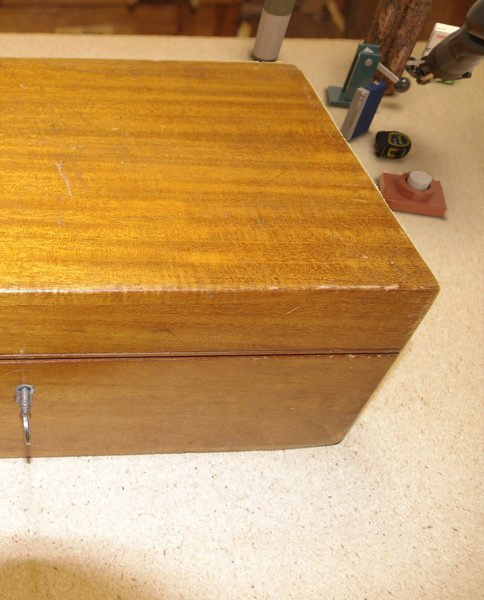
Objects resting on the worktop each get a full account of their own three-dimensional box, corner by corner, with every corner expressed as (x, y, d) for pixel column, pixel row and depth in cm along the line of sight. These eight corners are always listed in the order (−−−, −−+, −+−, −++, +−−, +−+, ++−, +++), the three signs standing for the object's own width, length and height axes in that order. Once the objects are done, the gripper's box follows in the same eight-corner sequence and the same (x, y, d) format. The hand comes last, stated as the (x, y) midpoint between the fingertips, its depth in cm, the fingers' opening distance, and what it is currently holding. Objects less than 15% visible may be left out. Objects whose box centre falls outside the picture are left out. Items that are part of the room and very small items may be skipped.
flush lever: (399, 91, 162) (413, 79, 159) (401, 99, 159) (415, 87, 157) (355, 55, 158) (369, 43, 156) (356, 62, 156) (370, 50, 153)
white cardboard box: (452, 75, 173) (475, 29, 164) (450, 84, 170) (474, 38, 161) (415, 66, 175) (436, 21, 167) (413, 76, 172) (434, 30, 164)
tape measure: (371, 141, 153) (378, 126, 150) (405, 146, 152) (412, 132, 149) (373, 159, 148) (379, 144, 146) (407, 165, 147) (414, 150, 144)
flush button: (426, 179, 138) (430, 172, 137) (429, 192, 135) (433, 184, 134) (405, 176, 139) (408, 169, 137) (407, 188, 136) (411, 181, 135)
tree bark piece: (395, 96, 166) (442, -10, 147) (372, 94, 166) (416, -12, 148) (378, 61, 177) (420, -41, 159) (356, 60, 177) (395, -43, 159)
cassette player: (359, 127, 157) (379, 78, 148) (367, 132, 155) (388, 83, 147) (336, 136, 154) (356, 87, 145) (345, 142, 153) (365, 92, 144)
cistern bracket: (371, 95, 166) (392, 44, 156) (373, 111, 161) (396, 59, 152) (327, 89, 167) (346, 38, 158) (328, 105, 163) (348, 53, 153)
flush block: (435, 189, 142) (444, 173, 139) (442, 217, 136) (451, 201, 133) (378, 180, 143) (386, 164, 140) (383, 208, 137) (391, 192, 134)
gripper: (500, 37, 129) (458, 66, 146) (424, 29, 131) (392, 58, 148) (492, 78, 130) (451, 102, 147) (416, 69, 131) (385, 93, 149)
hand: (421, 80), depth 147 cm, fingers closed
